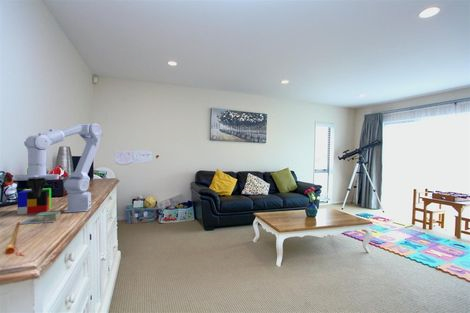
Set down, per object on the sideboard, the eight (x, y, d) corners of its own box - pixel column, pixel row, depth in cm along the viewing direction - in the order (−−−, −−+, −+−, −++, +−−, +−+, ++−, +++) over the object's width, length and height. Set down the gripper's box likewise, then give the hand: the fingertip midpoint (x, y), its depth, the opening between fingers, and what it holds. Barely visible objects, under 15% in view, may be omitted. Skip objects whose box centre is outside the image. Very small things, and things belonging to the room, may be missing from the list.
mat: (60, 216, 101) (61, 216, 101) (53, 222, 93) (53, 221, 93) (30, 218, 98) (30, 217, 98) (19, 224, 90) (19, 223, 90)
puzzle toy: (17, 214, 103) (17, 192, 103) (25, 209, 112) (25, 189, 112) (45, 212, 108) (45, 191, 108) (50, 207, 117) (51, 188, 117)
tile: (40, 218, 98) (60, 216, 100) (35, 221, 93) (55, 220, 95) (40, 212, 98) (60, 211, 100) (35, 215, 93) (55, 214, 95)
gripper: (9, 164, 89) (9, 199, 89) (54, 164, 94) (54, 197, 94) (19, 163, 95) (19, 196, 96) (60, 163, 100) (60, 194, 101)
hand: (37, 196), depth 95 cm, fingers closed
